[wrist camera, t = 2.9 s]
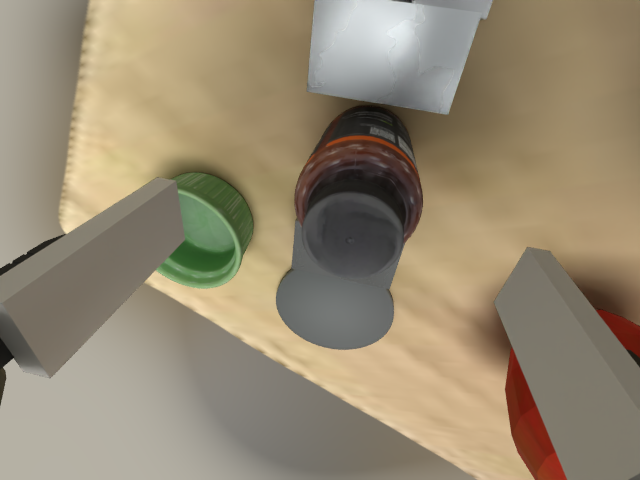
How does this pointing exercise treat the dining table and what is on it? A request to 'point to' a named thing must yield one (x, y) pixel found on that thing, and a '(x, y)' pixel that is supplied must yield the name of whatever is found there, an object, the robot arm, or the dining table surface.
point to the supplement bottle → (359, 194)
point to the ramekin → (208, 232)
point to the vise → (388, 65)
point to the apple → (526, 415)
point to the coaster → (334, 310)
